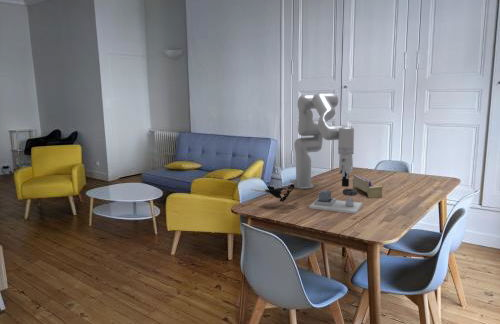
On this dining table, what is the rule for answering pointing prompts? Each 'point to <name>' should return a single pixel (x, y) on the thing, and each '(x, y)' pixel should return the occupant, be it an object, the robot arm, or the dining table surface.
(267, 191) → the rocket toy
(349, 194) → the wheel
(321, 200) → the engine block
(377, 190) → the toy sofa
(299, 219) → the dining table surface
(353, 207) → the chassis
